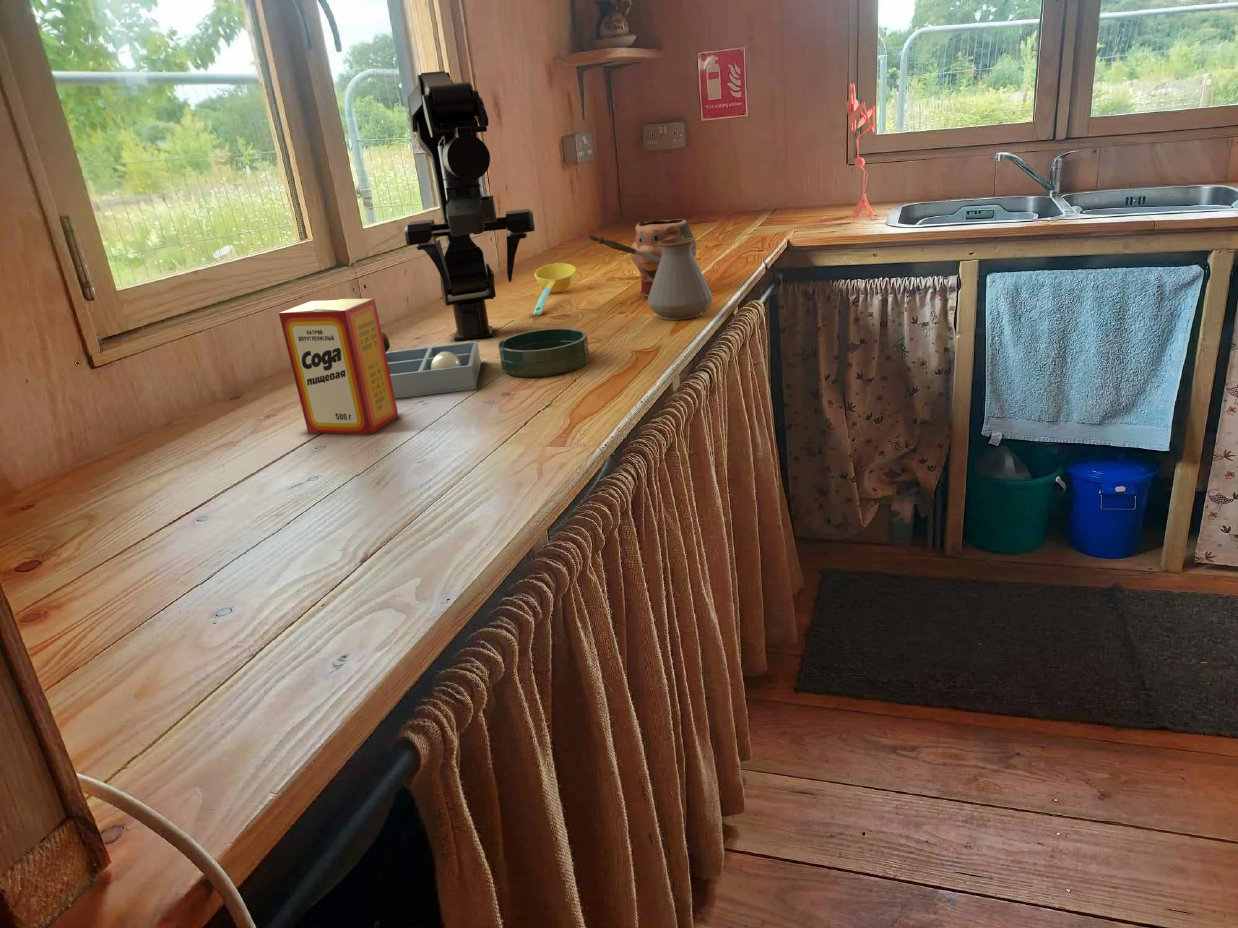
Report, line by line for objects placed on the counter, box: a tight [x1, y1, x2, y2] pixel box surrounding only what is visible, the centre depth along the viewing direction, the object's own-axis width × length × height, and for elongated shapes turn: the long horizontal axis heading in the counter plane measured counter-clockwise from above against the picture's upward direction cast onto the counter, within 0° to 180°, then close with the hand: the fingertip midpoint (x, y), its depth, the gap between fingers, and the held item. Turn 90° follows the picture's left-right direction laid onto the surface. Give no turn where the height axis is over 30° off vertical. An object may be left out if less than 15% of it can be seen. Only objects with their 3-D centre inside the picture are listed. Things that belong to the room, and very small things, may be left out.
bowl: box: [498, 327, 590, 378], centre depth 131 cm, size 13×13×4 cm
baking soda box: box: [278, 298, 399, 435], centre depth 111 cm, size 10×6×16 cm
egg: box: [431, 351, 461, 370], centre depth 126 cm, size 5×4×4 cm
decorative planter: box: [630, 218, 697, 297], centre depth 171 cm, size 20×12×14 cm, turn 162°
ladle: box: [532, 262, 577, 316], centre depth 177 cm, size 9×26×6 cm, turn 174°
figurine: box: [821, 82, 876, 224], centre depth 238 cm, size 15×26×35 cm, turn 165°
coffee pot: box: [585, 234, 714, 321], centre depth 152 cm, size 21×12×15 cm, turn 81°
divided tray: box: [386, 341, 482, 400], centre depth 129 cm, size 15×15×3 cm
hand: (479, 285), depth 132 cm, fingers open, 9 cm apart
